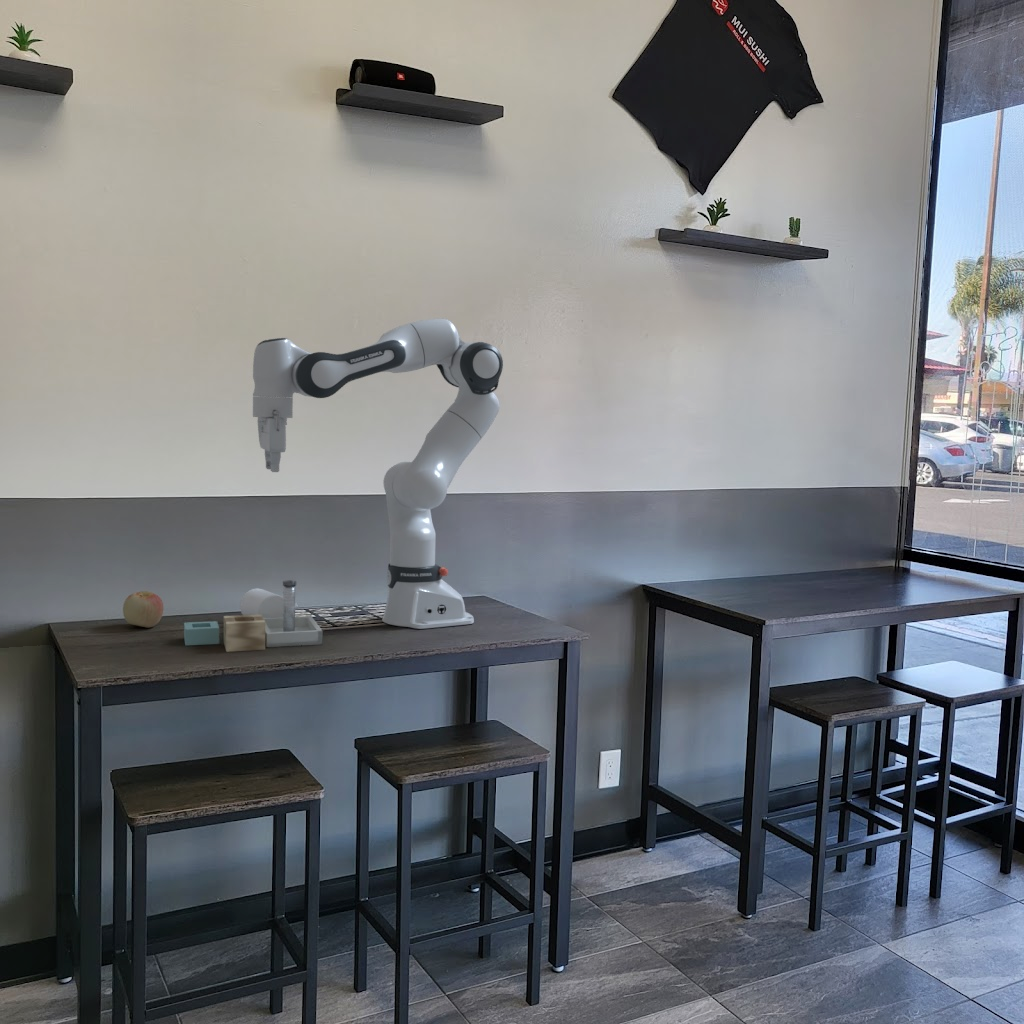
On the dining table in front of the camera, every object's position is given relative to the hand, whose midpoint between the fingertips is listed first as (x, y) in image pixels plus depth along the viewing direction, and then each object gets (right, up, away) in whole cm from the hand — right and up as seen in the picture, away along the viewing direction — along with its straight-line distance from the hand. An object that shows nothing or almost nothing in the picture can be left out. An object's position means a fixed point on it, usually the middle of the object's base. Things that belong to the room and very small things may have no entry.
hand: (272, 470), depth 228 cm
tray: (+5, -38, -3) cm, 38 cm away
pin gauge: (+5, -37, -4) cm, 37 cm away
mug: (-3, -37, +11) cm, 38 cm away
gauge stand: (-13, -38, -9) cm, 41 cm away
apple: (-30, -36, +3) cm, 48 cm away
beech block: (-3, -39, -13) cm, 41 cm away
